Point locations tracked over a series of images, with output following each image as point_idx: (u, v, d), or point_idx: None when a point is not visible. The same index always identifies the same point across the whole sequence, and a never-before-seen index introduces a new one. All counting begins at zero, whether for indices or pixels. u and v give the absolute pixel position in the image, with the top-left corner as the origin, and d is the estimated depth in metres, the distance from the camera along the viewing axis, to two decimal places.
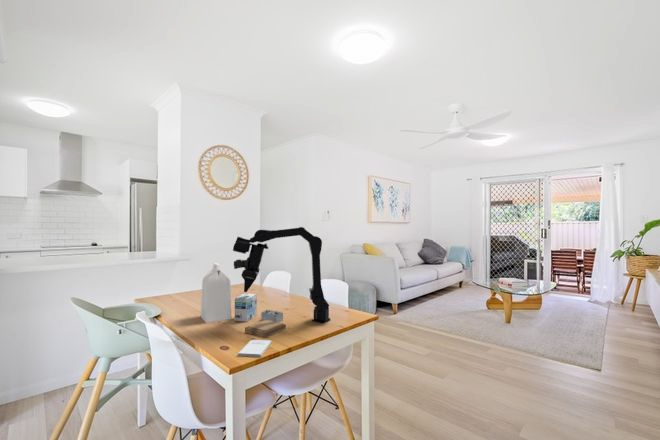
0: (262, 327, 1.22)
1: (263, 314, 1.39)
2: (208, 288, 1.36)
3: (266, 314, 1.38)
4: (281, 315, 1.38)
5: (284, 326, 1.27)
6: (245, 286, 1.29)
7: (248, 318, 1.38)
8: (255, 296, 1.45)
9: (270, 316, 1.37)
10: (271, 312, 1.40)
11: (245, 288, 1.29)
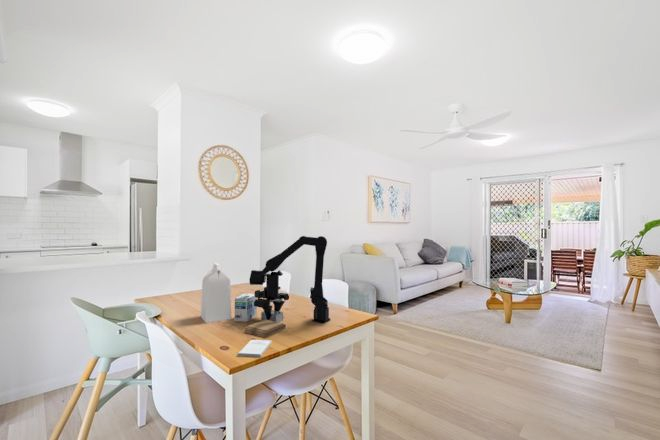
0: (262, 327, 1.22)
1: (263, 314, 1.39)
2: (208, 288, 1.36)
3: None
4: (281, 315, 1.38)
5: (284, 326, 1.27)
6: (266, 314, 1.36)
7: (248, 318, 1.38)
8: None
9: (270, 316, 1.37)
10: (271, 311, 1.40)
11: (266, 316, 1.37)
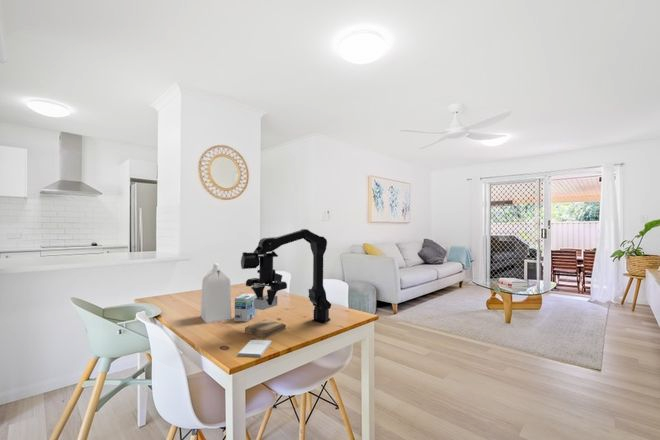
0: (262, 327, 1.22)
1: None
2: (208, 288, 1.36)
3: None
4: (260, 302, 1.22)
5: (284, 326, 1.27)
6: None
7: (248, 318, 1.38)
8: (255, 296, 1.45)
9: None
10: (267, 297, 1.27)
11: None
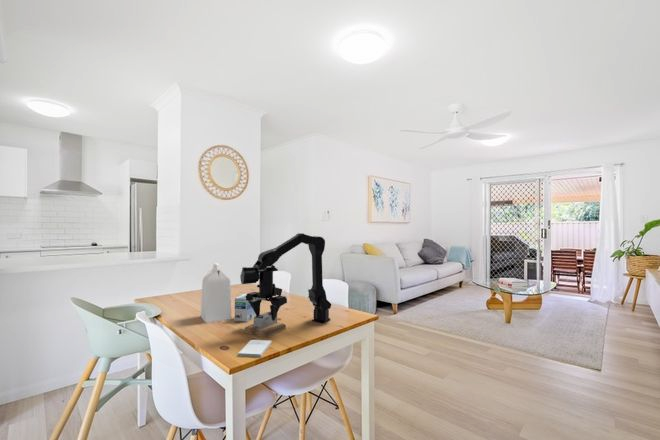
0: None
1: None
2: (208, 288, 1.36)
3: None
4: (260, 321, 1.21)
5: (284, 326, 1.27)
6: None
7: (248, 318, 1.38)
8: None
9: None
10: (266, 314, 1.26)
11: None
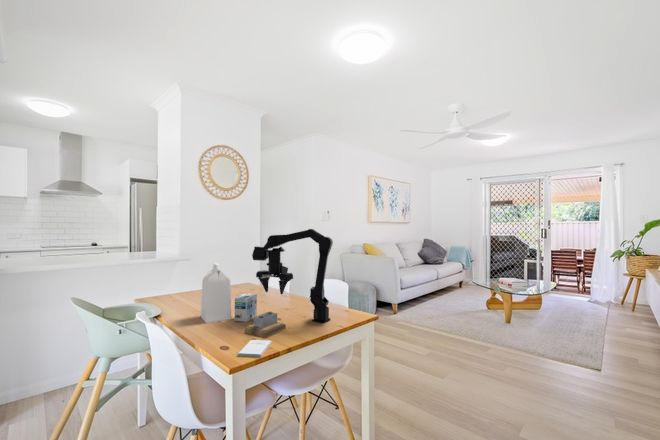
0: None
1: None
2: (208, 288, 1.36)
3: None
4: (260, 321, 1.21)
5: (284, 326, 1.27)
6: None
7: (248, 318, 1.38)
8: (255, 296, 1.45)
9: None
10: (266, 314, 1.26)
11: None
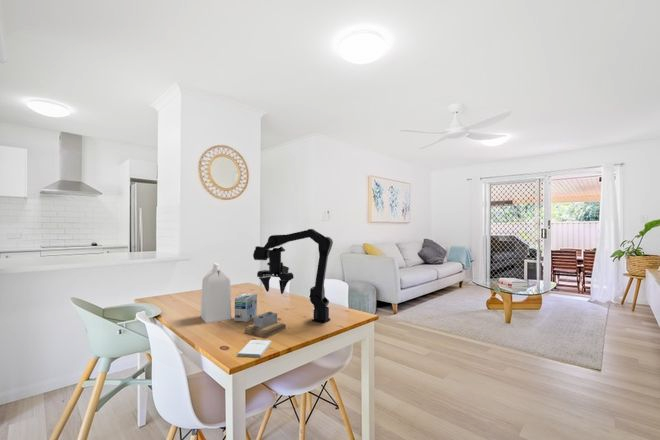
0: None
1: None
2: (208, 288, 1.36)
3: None
4: (260, 321, 1.21)
5: (284, 326, 1.27)
6: None
7: (248, 318, 1.38)
8: (255, 296, 1.45)
9: None
10: (266, 314, 1.26)
11: None
